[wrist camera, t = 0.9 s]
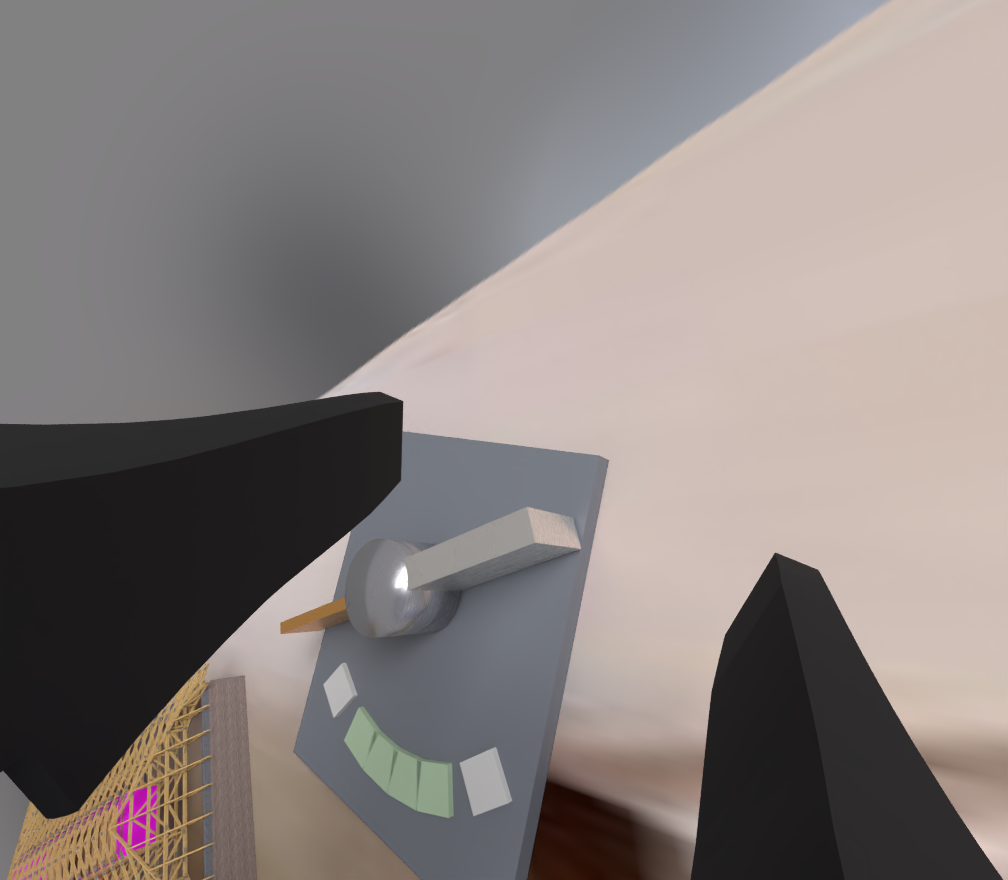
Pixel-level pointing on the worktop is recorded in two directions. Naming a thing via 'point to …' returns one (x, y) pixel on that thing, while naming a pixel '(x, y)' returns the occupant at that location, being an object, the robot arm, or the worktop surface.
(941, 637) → the worktop surface
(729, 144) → the worktop surface
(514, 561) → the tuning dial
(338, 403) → the robot arm
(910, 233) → the worktop surface
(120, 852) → the rafter model
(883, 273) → the worktop surface
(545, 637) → the plate
